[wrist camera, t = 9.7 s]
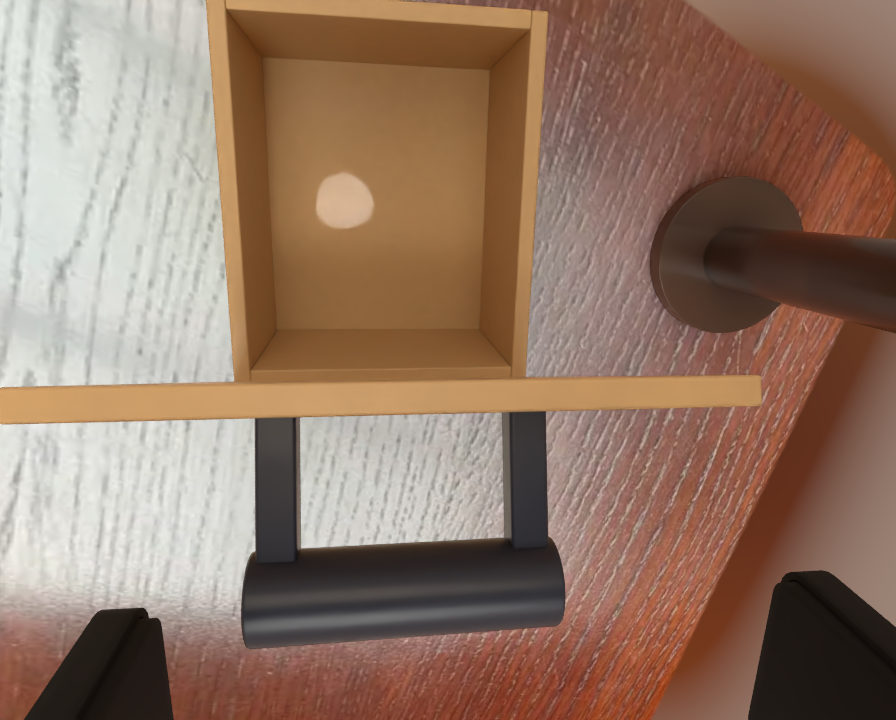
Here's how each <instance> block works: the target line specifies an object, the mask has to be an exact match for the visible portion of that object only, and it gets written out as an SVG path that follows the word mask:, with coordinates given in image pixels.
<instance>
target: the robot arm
mask: <svg viewBox="0 0 896 720" xmlns="http://www.w3.org/2000/svg"><path fill="white" fill-rule="evenodd" d="M24 720H174V719H173V712H172V704H171V696H170V688H169V680H168V673H167V665H166V657H165V649H164V641H163V634H162V626H161V622H160V620H159V619H158V618H149V617H148V613H147V611H146V609H144V608H128V609H110V610H101V611H98V612H97V613H96V614H95V615H94V616H93V618H92V619H91V621H90V622H89V624H88V625H87V627H86V628H85V630H84V631H83V633H82V634H81V636H80V637H79V639H78V640H77V641H76V643H75V644H74V646H73V647H72V649H71V650H70V652H69V653H68V655H67V656H66V658H65V659H64V661H63V662H62V664H61V665H60V667H59V668H58V670H57V671H56V673H55V674H54V676H53V677H52V679H51V680H50V682H49V683H48V685H47V686H46V688H45V689H44V691H43V692H42V694H41V695H40V697H39V698H38V700H37V701H36V703H35V704H34V706H33V707H32V709H31V710H30V712H29V713H28V715H27V716H26V717H25V719H24ZM748 720H896V627H895V626H894V625H892V624H891V623H890V622H889V621H888V620H886V619H885V618H884V617H883V616H882V615H881V614H879V613H878V612H877V611H876V610H875V609H873V608H872V607H871V606H870V605H869V604H867V603H866V602H865V601H864V600H863V599H861V598H860V597H859V596H858V595H857V594H855V593H854V592H853V591H852V590H851V589H850V588H848V587H847V586H846V585H845V584H844V583H842V582H841V581H840V580H839V579H838V578H836V577H835V576H834V575H832V574H831V573H829V572H826V571H822V570H821V571H803V572H790V573H787V574H785V576H784V577H783V578H782V581H781V583H778V584H777V585H776V586H775V588H774V590H773V595H772V600H771V605H770V610H769V615H768V620H767V625H766V630H765V635H764V640H763V645H762V650H761V655H760V660H759V665H758V670H757V675H756V680H755V685H754V690H753V695H752V700H751V705H750V710H749V715H748Z"/></svg>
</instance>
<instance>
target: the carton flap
mask: <svg viewBox="0 0 896 720" xmlns="http://www.w3.org/2000/svg"><path fill="white" fill-rule="evenodd" d="M761 404H762V393H761V377H760V376H758V375H699V376H587V377H498V378H435V379H372V380H309V381H247V382H201V383H160V384H119V385H77V386H36V387H2V388H0V424H39V423H81V422H122V421H163V420H205V419H246V418H255V539H256V551H255V552H253V553H252V554H251V555H250V557H249V560H248V562H247V566H246V570H245V575H244V581H243V589H242V603H241V625H242V635H243V640H244V643H245V646H246V647H247V648H249V649H260V648H274V647H287V646H300V645H314V644H327V643H340V642H353V641H367V640H380V639H393V638H406V637H420V636H433V635H446V634H460V633H473V632H486V631H499V630H513V629H526V628H539V627H552V626H557V625H559V624H560V623H561V621H562V619H563V616H564V610H565V581H564V573H563V568H562V563H561V559H560V556H559V553H558V550H557V548H556V545H555V543H554V542H553V540H552V539H551V538H550V537H548V503H547V455H546V411H578V410H619V409H661V408H702V407H743V406H760V405H761ZM495 412H502V438H503V492H504V538H489V539H471V540H452V541H433V542H415V543H396V544H377V545H359V546H340V547H321V548H303V549H301V489H300V417H329V416H371V415H412V414H453V413H495Z"/></svg>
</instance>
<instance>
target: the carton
mask: <svg viewBox="0 0 896 720" xmlns="http://www.w3.org/2000/svg"><path fill="white" fill-rule="evenodd" d="M206 9H207V23H208V36H209V49H210V63H211V76H212V89H213V103H214V116H215V129H216V143H217V156H218V169H219V183H220V196H221V209H222V223H223V236H224V249H225V263H226V276H227V289H228V302H229V316H230V329H231V342H232V356H233V369H234V382H247V381H309V380H372V379H435V378H498V377H525V374H526V358H527V342H528V327H529V311H530V295H531V279H532V263H533V248H534V232H535V216H536V200H537V184H538V168H539V153H540V137H541V121H542V105H543V89H544V73H545V58H546V42H547V26H548V12H547V11H536V10H533V11H531V10H525V9H510V8H496V7H482V6H468V5H454V4H440V3H426V2H412V1H398V0H206Z"/></svg>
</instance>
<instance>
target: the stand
mask: <svg viewBox="0 0 896 720" xmlns="http://www.w3.org/2000/svg"><path fill="white" fill-rule="evenodd" d="M650 266H651V277H652V282H653V285H654V288H655V291H656V294H657V296H658V298H659V300H660V301H661V303H662V304H663V306H664V307H665V308H666V309H667V311H668V312H669V313H670V314H671V315H673V316H674V317H675V318H676V319H678V320H679V321H681V322H683V323H685V324H687V325H689V326H692V327H694V328H697V329H700V330H702V331H707V332H712V333H729V332H734V331H739V330H742V329H745V328H748V327H750V326H752V325H754V324H756V323H758V322H759V321H761V320H763V319H764V318H766V317H767V316H768V315H769V314H771V313H772V312H773V311H774V310H775V309H776V308H777V307H778V306H779V305H780V304H781V303H782V304H786V305H790V306H793V307H797V308H801V309H805V310H809V311H813V312H816V313H820V314H824V315H828V316H832V317H835V318H839V319H843V320H847V321H851V322H855V323H859V324H862V325H866V326H870V327H874V328H877V329H881V330H885V331H889V332H893V333H896V239H887V238H875V237H863V236H852V235H840V234H828V233H816V232H805V231H803V227H802V223H801V219H800V217H799V214H798V212H797V210H796V208H795V206H794V205H793V203H792V202H791V200H790V199H789V198H788V196H787V195H786V194H785V193H783V192H782V191H781V190H780V189H779V188H777V187H776V186H774V185H773V184H771V183H769V182H767V181H765V180H761V179H758V178H754V177H745V176H744V177H724V178H718V179H714V180H710V181H707V182H705V183H703V184H701V185H698V186H696V187H695V188H693V189H692V190H690V191H689V192H687V193H686V194H685V195H684V196H682V197H681V198H680V199H679V200H678V201H677V202H676V203H675V204H674V205H673V206H672V207H671V209H670V210H669V211H668V213H667V214H666V215H665V217H664V219H663V221H662V222H661V224H660V226H659V228H658V231H657V233H656V236H655V239H654V242H653V246H652V251H651V262H650Z"/></svg>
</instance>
